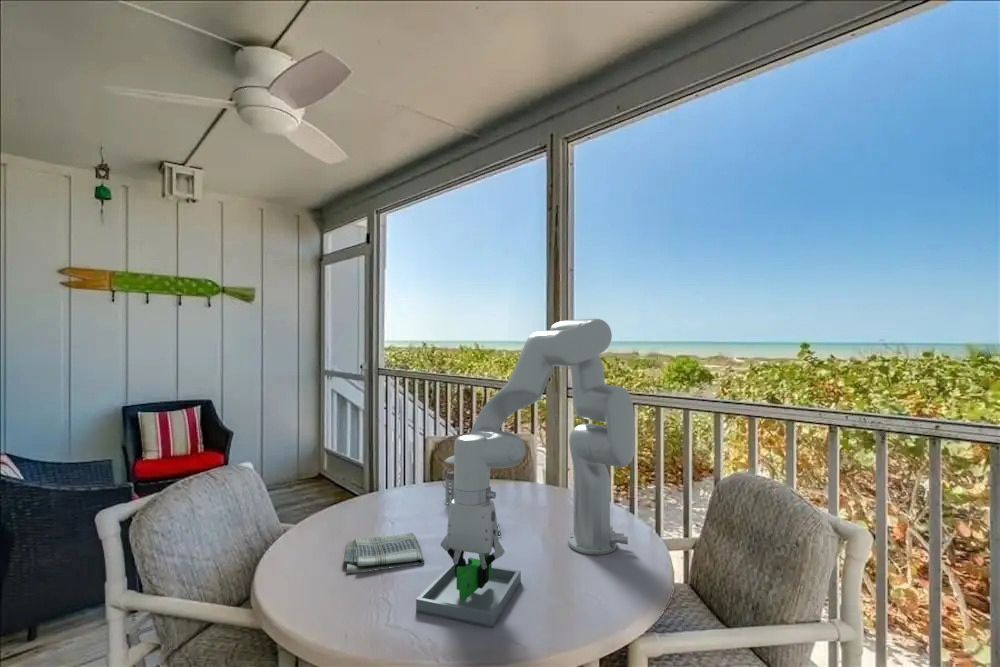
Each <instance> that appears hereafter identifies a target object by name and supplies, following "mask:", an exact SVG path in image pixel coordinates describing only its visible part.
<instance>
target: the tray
mask: <svg viewBox="0 0 1000 667" xmlns="http://www.w3.org/2000/svg"><path fill="white" fill-rule="evenodd" d="M466 566H468V561H466ZM521 573H522V572H521V570H518V569H512V568H506V567H498V566H493V565H492V576H491V577H490V578H489V580H488V582H487V583H486V584H485V585H484V587H483V588H478V589H477V590H476V591H475V592H474V593H473V594H471V595H470V596H469V597H468V598H467V599H466V600H465V601H462V600H459V590H457V578H456V577H455V564H454V563H453V562H451V563H450V564H449V565H448V566H447V567H446V568H445V569H444V570H443V571H442V573H441V574H439V576H437V577H436V578H435V580H433V582H432V583H431V584H429V585H428V586H427V588H425V589H424V591H422V592H421V593H420V595H418V597H416V599H415V612H416V613H418V614H424V615H429V616H433V617H439V618H443V619H447V620H451V621H455V622H456V621H457V622H461V623H465V624H469V625H470V624H471V625H476V626H481V627H485V628H489V629H493V628H494V626H495V625H496V623H497V622H498V620H499V618H500V616H501V615H502V613H503V611H504V610H505V608H506V607H507V606H508V604H509V602H510V601H511V599H512V597H513V595H514V594H515V592H516V591H517V589H518V587H519V586H520V584H521V583H522V581H521V580H522V578H521V576H522V575H521Z"/></svg>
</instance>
